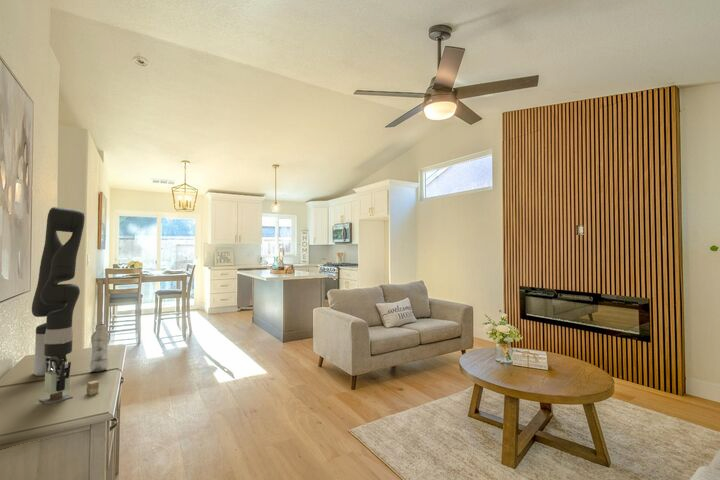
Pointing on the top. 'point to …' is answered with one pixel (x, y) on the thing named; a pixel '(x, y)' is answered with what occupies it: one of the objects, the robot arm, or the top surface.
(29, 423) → the top surface
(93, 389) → the maple post
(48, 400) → the walnut post
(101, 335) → the plastic bottle
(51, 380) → the pale green eraser block
